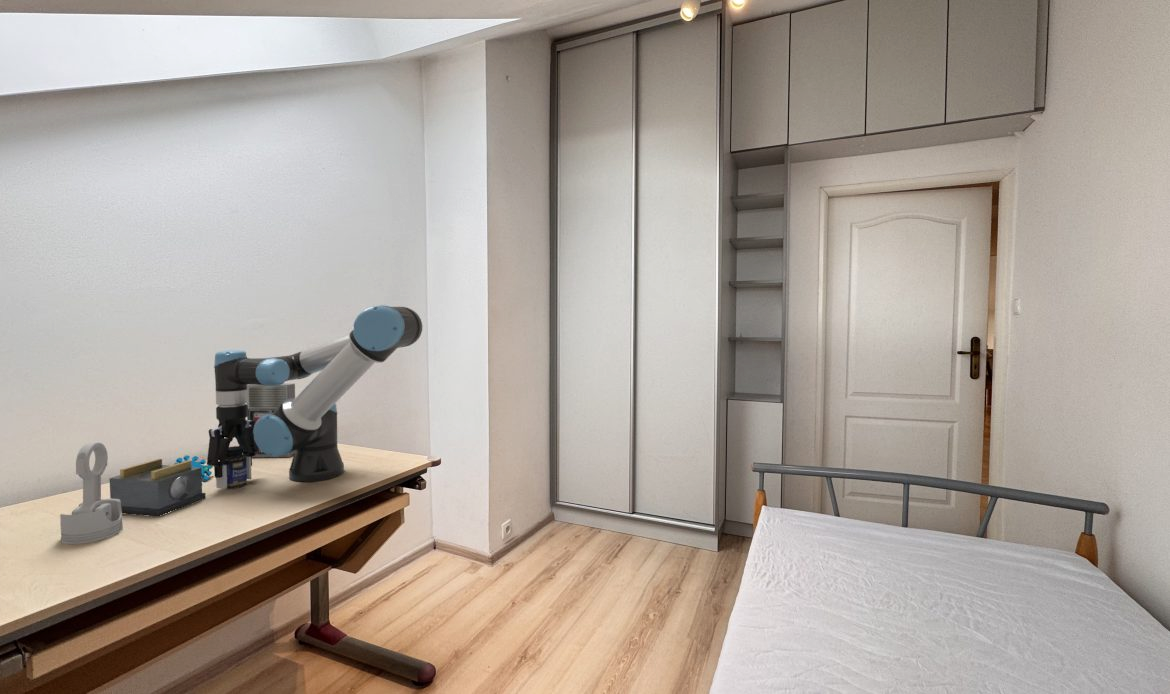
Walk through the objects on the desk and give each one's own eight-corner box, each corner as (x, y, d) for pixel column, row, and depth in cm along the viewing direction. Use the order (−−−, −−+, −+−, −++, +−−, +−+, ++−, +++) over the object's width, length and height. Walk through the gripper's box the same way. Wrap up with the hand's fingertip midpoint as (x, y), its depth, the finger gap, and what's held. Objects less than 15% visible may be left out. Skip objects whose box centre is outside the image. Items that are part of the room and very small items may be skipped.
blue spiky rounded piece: (182, 483, 147) (169, 455, 150) (171, 496, 148) (158, 468, 151) (222, 477, 157) (208, 451, 160) (211, 490, 159) (198, 464, 162)
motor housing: (205, 498, 140) (204, 459, 140) (159, 516, 127) (157, 474, 127) (157, 494, 143) (156, 456, 142) (107, 512, 130) (105, 470, 129)
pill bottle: (235, 489, 147) (233, 451, 147) (216, 488, 148) (214, 450, 148) (252, 483, 153) (251, 445, 153) (234, 481, 154) (232, 444, 154)
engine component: (49, 546, 111) (107, 541, 114) (44, 451, 110) (102, 448, 112) (82, 526, 121) (134, 522, 124) (77, 439, 120) (130, 437, 123)
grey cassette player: (246, 458, 179) (244, 385, 177) (256, 453, 185) (254, 383, 183) (288, 458, 180) (287, 385, 178) (297, 453, 186) (295, 383, 184)
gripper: (249, 398, 160) (251, 471, 162) (187, 410, 140) (190, 494, 141) (271, 399, 159) (273, 473, 160) (212, 411, 139) (214, 496, 140)
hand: (234, 483), depth 151 cm, fingers open, 8 cm apart
